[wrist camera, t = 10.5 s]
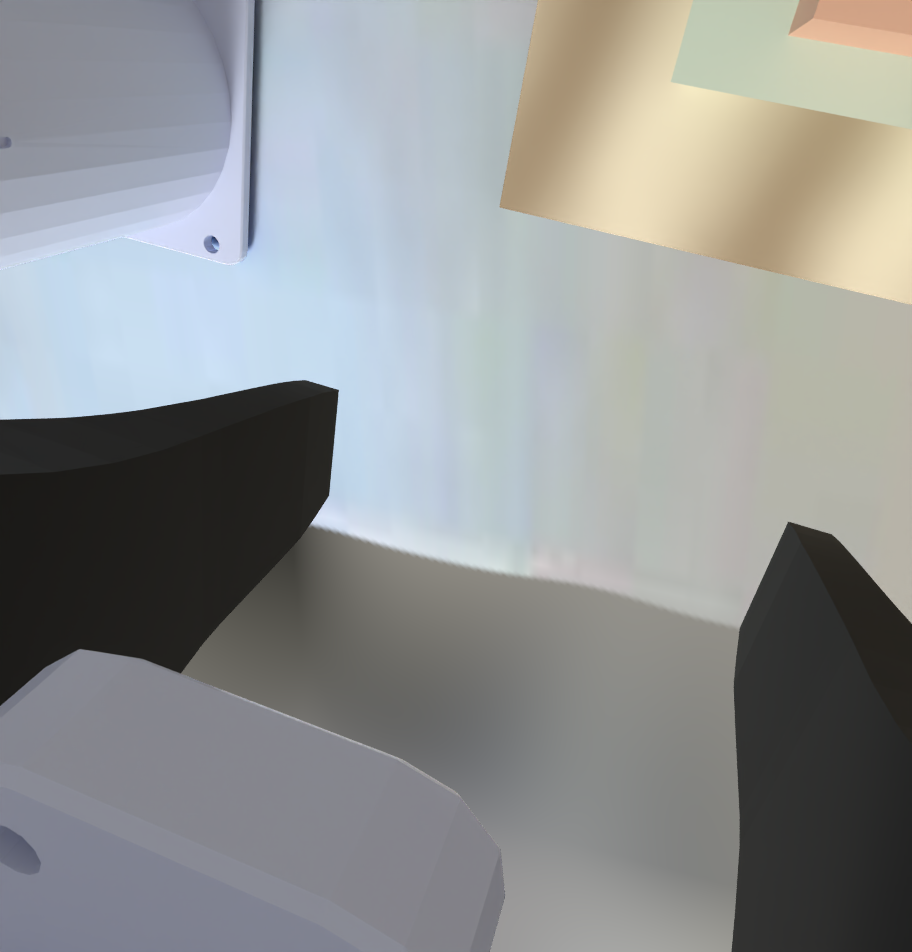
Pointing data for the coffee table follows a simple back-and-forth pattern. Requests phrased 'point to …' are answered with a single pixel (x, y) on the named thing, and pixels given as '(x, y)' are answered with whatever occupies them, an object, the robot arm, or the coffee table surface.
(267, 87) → the coffee table surface
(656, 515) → the coffee table surface
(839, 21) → the terracotta brick
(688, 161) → the baseplate
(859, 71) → the sage brick
